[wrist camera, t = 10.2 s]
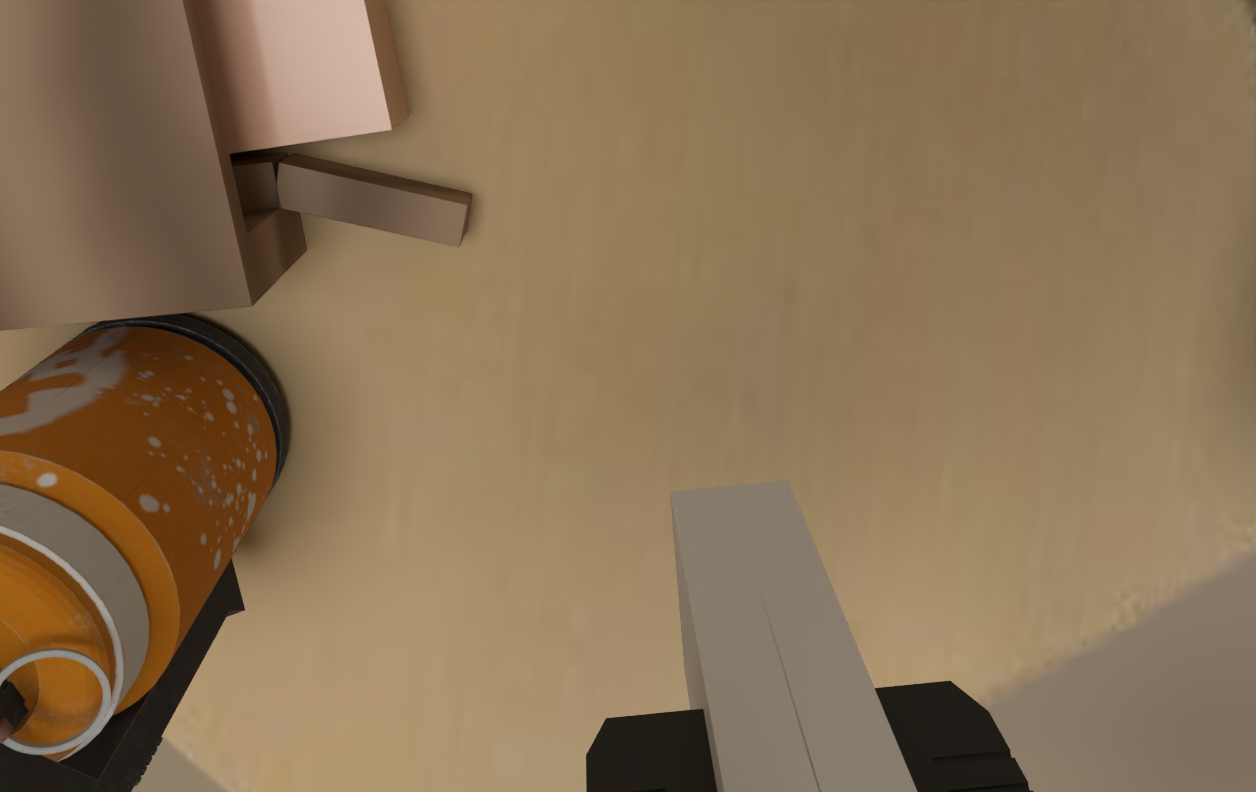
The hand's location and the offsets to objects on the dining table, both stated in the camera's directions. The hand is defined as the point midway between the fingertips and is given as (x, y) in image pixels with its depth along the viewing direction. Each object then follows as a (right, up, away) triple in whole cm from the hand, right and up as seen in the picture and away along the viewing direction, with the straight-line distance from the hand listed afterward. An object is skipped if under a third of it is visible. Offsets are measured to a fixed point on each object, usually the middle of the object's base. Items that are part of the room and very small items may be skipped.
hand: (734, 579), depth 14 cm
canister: (-18, +1, +28) cm, 33 cm away
